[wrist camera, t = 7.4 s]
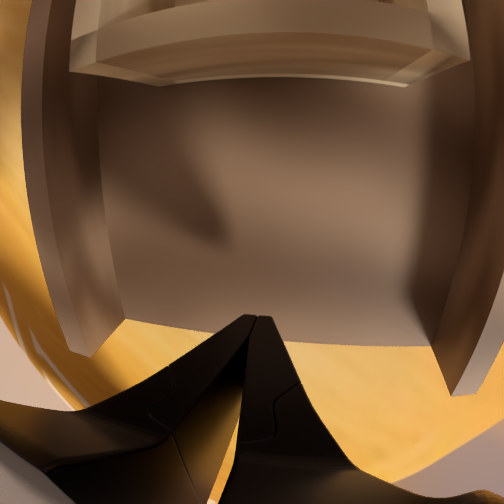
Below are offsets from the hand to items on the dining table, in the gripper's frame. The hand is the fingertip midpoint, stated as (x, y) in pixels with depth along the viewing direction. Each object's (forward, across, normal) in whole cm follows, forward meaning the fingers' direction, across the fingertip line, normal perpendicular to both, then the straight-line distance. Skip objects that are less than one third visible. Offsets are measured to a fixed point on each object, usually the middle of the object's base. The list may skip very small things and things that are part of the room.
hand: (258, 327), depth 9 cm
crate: (+2, 0, -11) cm, 11 cm away
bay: (+3, 0, -7) cm, 7 cm away
